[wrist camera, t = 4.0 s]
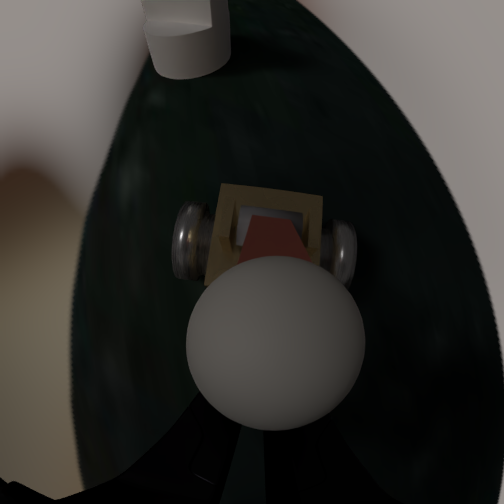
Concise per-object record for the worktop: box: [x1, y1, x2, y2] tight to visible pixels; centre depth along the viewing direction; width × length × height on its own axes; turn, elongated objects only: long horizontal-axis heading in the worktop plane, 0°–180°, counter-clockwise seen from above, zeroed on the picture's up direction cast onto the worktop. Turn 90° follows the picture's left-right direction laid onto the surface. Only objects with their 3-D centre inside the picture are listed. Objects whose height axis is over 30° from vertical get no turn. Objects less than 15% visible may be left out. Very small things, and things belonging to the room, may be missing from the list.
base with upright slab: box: [141, 0, 231, 79], centre depth 20 cm, size 9×9×12 cm
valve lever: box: [186, 205, 365, 431], centre depth 9 cm, size 3×3×12 cm
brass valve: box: [172, 183, 357, 290], centre depth 17 cm, size 6×10×8 cm, turn 83°
